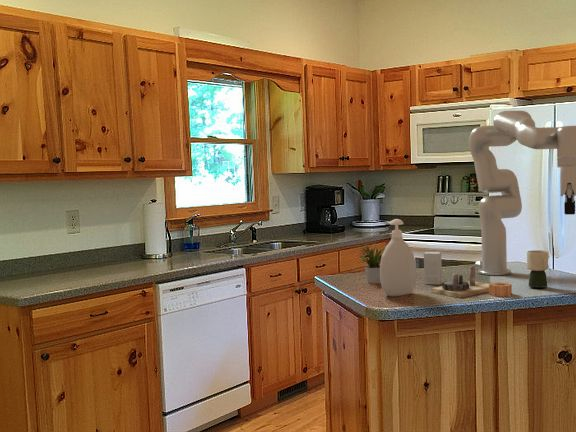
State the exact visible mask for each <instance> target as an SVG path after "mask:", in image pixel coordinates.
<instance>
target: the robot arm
mask: <svg viewBox="0 0 576 432" xmlns="http://www.w3.org/2000/svg"><path fill="white" fill-rule="evenodd" d="M492 123H493V125H481V126H478V127H475V128H473V129H472V131H471V132H470V134H469V137H468V149H469V151H470V154H471V156H472V160H473V164H474V170H475V175H476V176H475V177H476V181H477V186H478V188H479V191H480V192H482V193H483V194H484V193H485V194H495V193H496V194H497V193H500V194H498V195H488V196H485V197H482V199H480V201H479V203H478V207H477V209H478V214H479V219H480V227H481V231H480V233H481V260H477V261H476V262H475V266H476V267H479V269H478V270H477V271H478V272H477V273H478V274H480V275H485V276H506V275H510V274H511V273H512V272H511V271H512V270H511V269H509V268H508V264H507V262H508V258H507V255H508V254H507V228H506V226H505V224H504V223H503V221H502V219H513V218H516V217H518V216H519V215H520V214H521V212H522V209H523V203H522V198H521V197H522V196H521V192H520V187H519V182H518V178H517V175H516V174H515V172H514V171H513V170H511V169H508V168H505V169H504V168H501V169H500V168H499V167H498V163H497V159H496V157H495V155H494V154H493V152H492V151H491V150H490V149H489V147H508V146H510V145H512V144H513V143H515V142H516V141H517V142H518V143H519V144H520V145H521V146H524V147H526V148H529V149H533V150H556V160H557V161H556V162H557V163H556V166H557V168H560V172H559V173H560V175H559V177H560V178H559V179H560V180H559V181H560V187H559V188H560V191H559V192H560V196H561V198H562V197H564V203H563V205H564V211H563V212H564V215H576V200H575V197H576V125H564V126H559V127H556V126H554V127H553V126H552V127H551V126H549V127H548V126H547V127H536V122H535V121H534V119H533V118H532V115H531V114H530V113H529V112H527V111H525V110H503V111H502V110H501V111H500V112H498V113H496V115H495V116H494V118H493V122H492Z"/></svg>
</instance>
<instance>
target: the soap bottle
mask: <svg viewBox="0 0 576 432" xmlns="http://www.w3.org/2000/svg"><path fill="white" fill-rule="evenodd" d="M387 224H389V225H390V226H394V229H393V230H392V231H391V239H390V241H389V242H388V243H387V245H385V247H386V248H385V249H384V250H383V251H382V252H383V253H382V254H381V255H382V257H381V260H380V261H381V262H380V264H379V265H380V287H381V289H382V291H383V292H384V294H385V295H386V296H387V297H391V298H392V297H393V298H394V297H395V298H396V297H401V296H402V297H403V296H407V295H410V294H412V292H413V291H414V288H415V286H416V281H417V280H416V279H417V267H416V266H417V265H416V260H415V255H414V253H413V250H412V249H411V248H410V246H409V244H408V243H407V242H406V241H405V240H404V239H403V231H402V230H401V229H399V225H400V226H401V225H404V222H403V220H401V219H398V218H394V219H392V220H390V221H387Z"/></svg>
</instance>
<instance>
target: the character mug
mask: <svg viewBox="0 0 576 432" xmlns="http://www.w3.org/2000/svg"><path fill="white" fill-rule="evenodd" d="M526 267H527V270H529V271H530V272H529V278H528V287H530V288H539V289H540V288H541V289H542V288H548V279H547V274H546V273H547V272H546V270H548V269H549V267H550V265H549V251H548V250H537V249H535V250H528V251H526Z"/></svg>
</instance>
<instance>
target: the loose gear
mask: <svg viewBox="0 0 576 432" xmlns="http://www.w3.org/2000/svg"><path fill="white" fill-rule="evenodd" d="M488 284H489V292H488V295H491V296H492V297H501V298H502V297H511V295H510V294H512V292H513V291H512V283H509V282H500V281H499V282H498V281H497V282H489V283H488Z"/></svg>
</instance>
